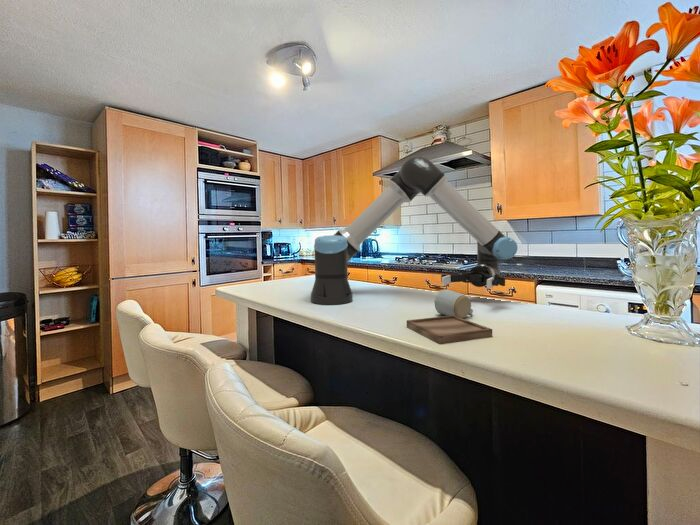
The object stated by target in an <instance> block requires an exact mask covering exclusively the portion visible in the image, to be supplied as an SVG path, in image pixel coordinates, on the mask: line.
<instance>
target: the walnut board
mask: <svg viewBox="0 0 700 525" xmlns="http://www.w3.org/2000/svg"><path fill="white" fill-rule="evenodd" d="M406 328H408V329H410V330H412V331H414V333H415V332H416V333H418V335H421V336H423V337H425V338H427V339H429V340H431V341H432V342H435V343H437V344H439V345H442V344H451V343H456V342H457V343H458V342H463V341H471V340H479V339H483V338H485V339H486V338H492V337H493V329H492V328H490V327H487V326H485V325H483V324H482V325H481V324H478V323H476V322H473V321H471V320H467V319H465V318H459V317H456V316H453V315H451V316H446V315H442V316H435V317H425V318H417V319H407V320H406Z"/></svg>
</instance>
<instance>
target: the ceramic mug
mask: <svg viewBox="0 0 700 525" xmlns="http://www.w3.org/2000/svg"><path fill="white" fill-rule="evenodd" d="M434 299H435V300H434V309H435V311H436V312H437V313H438V314H439V315H442V316H451V315H453V316H456V317H459V318H462V319H465V318H466V317H468V316H469V315H470V316H472V315H473V313H474V310H473V309H472V303H471V302H472V301H471V299H470V297H468V295H465V294H464V293H460V292H456V291H453V290H450V289H446V288H445V289H441V290H440V291H439V292H437V294H436V296H435V298H434Z"/></svg>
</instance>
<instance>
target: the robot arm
mask: <svg viewBox="0 0 700 525" xmlns="http://www.w3.org/2000/svg"><path fill="white" fill-rule="evenodd" d="M420 193H421V194H422V195H423V197H429V198H431V200H432V201H434V202H435V203H436V204H437V205H438V206H439V207H440V208H441V209H442V211H444V212H445V213H447V215H449V216H450V217H451V218H452V219H453V220H454V221H455V222H456V223H457V224H459V226H460V227H461V228H463V229H464V231H465V232H467V233H468V234H469V235H470V236H471V237H472V238H473V240H475V241H476V245H477V248H476V249H477V250H476V252H477V254H476V256H477V258H476V260H477V261H476V263H477V264H476V265H475V266H473V267H472V268H471V269H470V270H469V271H468V272H456V273H455V272H454V273H445V274H444V273H442V274H441V275H440V277H441V278H440V282H441V287H443V286H448V285H450V284H451V283H465V284H469V283H470V284H471V285H472V286H474V287H478V288H483V287H485V286H486V289H487V290H490V289H492V288H493V287H494V286H495V287H498V286H502V287H504V286H506V277H504V276H502V275H501V268H500V267H499V260H501V261H502V260H511V259H512V258H513V257H515V255H516V254H517V252H518V244H517V242H516V241H515V240H514V239H513V238H511V237H509V236H506V235H505V234H503V232H501V231H500V230H499V229H498V228H497V227H496V226H494V224H493V223H491V221H489V220H488V219H487V218H486V217H485V216H484V215H483V214H482V213H481V212H480V211H479V210H478V209H477V208H476V207H475V206H474V205H473V204H472V203H471V202H470V201H469V200H468V199H466V198H465V197H464V195H462V194H461V193H460V192H459V191H458V190H457V189H456V188H455V187H454V186H453V185H452V184H451V183H450V182H449V181H448V180H447V179H446V174H445V173H444V172H443V171H442V170H440V168H438V167H437V165H436V164H434V163H433V162H432V161H431V160H430V159H428V158H427V157H426V156H422V155H415V156H411V157H409V158H407V159H406V160H405V161H404V162H403V164H402V165H401V168H400V169H399V170H398V171H397V172H396V173H395V174H394V175H392V177H391V178H390V179H389V180H388V186H387V188H386V189H385V190H383V191H382V192H381V193H380V194H379V195H378V196H377V197H376V198H375V199H374V200H373V201H372V202H371V203H370V204H369V205H368V206H367V207H366V208H365V209H364V210H363V211H362V212H361V213H360V214H359V215H358V216H357V217H356V218H355V219H354V220H353V221H352V222H351V223H350V224H349V225H348V226H347V227H346V228H345V229H338V230H337V231H336V232H335V233H334V234H333V235H330V234H329V235H320V236H318V237H316V238H315V239H314V245H313V248H314V275H315V276H314V277H315V278H314V282H313V286H312V290H311V293H310V302H312V303H313V304H317V305H344V304H348V303H350V302H353V300H354V299H353V296H354V295H353V292H352V288H351V285H350V283H349V280H348V263H349V262H350V260H351V259H353V258H354V256H355V255H356V254H358V253H359V252H360V245H361V244H362V243H363V242H364V241H365V240H367V239H369V238H368V237H370V236H371V235H372V234H373V233H374V232H375V231H376V230H377V229H378V228H379V227H380V226H381V225H382V224H383V223H385V221H387V219H388V218H389V217H390V216H391V215H393V213H395V212H396V210H398V209H399V208H401V206H402V205H403V204H404V203H411V202H412V201H413V199H415V197H417V196H418V195H420Z"/></svg>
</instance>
